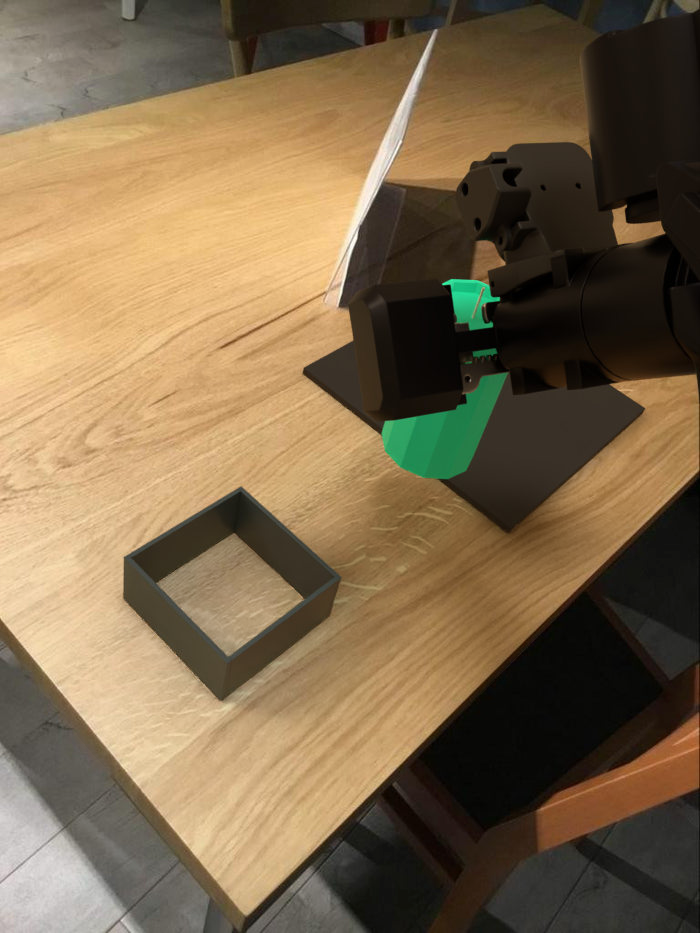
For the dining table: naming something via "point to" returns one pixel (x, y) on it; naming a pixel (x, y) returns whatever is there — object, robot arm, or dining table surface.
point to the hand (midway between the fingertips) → (445, 350)
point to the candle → (457, 431)
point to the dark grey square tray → (195, 538)
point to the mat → (510, 437)
